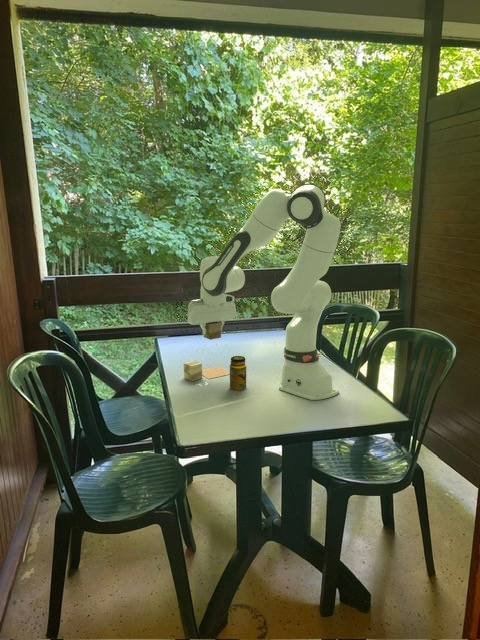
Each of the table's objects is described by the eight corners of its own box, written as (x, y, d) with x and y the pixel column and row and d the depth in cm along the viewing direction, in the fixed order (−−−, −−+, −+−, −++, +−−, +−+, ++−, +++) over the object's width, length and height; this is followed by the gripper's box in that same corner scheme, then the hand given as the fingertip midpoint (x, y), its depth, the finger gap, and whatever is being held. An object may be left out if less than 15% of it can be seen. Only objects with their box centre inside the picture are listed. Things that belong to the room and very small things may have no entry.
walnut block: (221, 337, 170) (220, 322, 169) (210, 339, 167) (209, 324, 166) (214, 335, 174) (214, 320, 173) (203, 337, 171) (203, 322, 170)
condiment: (249, 391, 156) (249, 359, 153) (226, 393, 154) (225, 361, 151) (244, 384, 163) (244, 353, 160) (222, 386, 161) (222, 355, 158)
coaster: (232, 374, 173) (232, 373, 173) (209, 380, 167) (208, 378, 167) (218, 367, 182) (218, 366, 182) (195, 372, 176) (195, 371, 176)
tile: (216, 386, 161) (216, 385, 161) (199, 389, 157) (199, 388, 157) (206, 380, 167) (206, 379, 167) (190, 384, 163) (190, 383, 163)
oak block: (202, 378, 168) (201, 363, 167) (192, 381, 165) (191, 366, 164) (194, 375, 172) (193, 360, 171) (184, 378, 168) (183, 363, 167)
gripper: (192, 301, 159) (193, 338, 162) (238, 296, 170) (238, 330, 173) (184, 299, 164) (185, 334, 167) (229, 294, 175) (229, 328, 178)
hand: (212, 332), depth 170 cm, fingers closed on walnut block, 5 cm apart
